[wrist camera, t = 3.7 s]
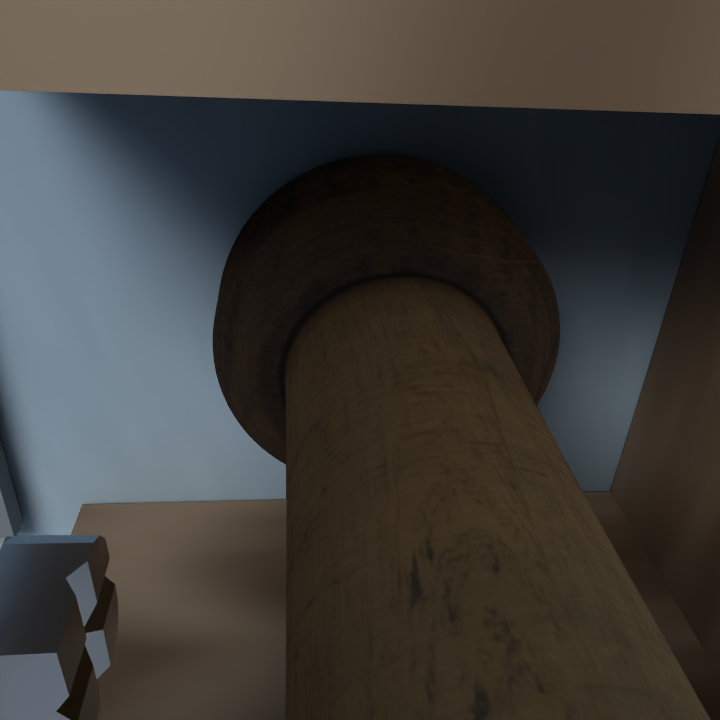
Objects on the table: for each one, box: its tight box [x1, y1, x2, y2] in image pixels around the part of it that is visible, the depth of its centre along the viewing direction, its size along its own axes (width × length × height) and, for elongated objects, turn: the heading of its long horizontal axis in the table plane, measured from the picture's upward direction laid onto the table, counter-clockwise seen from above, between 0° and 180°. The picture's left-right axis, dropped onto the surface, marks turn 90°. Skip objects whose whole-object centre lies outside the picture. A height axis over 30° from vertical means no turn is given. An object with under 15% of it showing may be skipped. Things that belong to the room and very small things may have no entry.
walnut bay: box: [0, 0, 720, 720], centre depth 12 cm, size 15×13×8 cm
